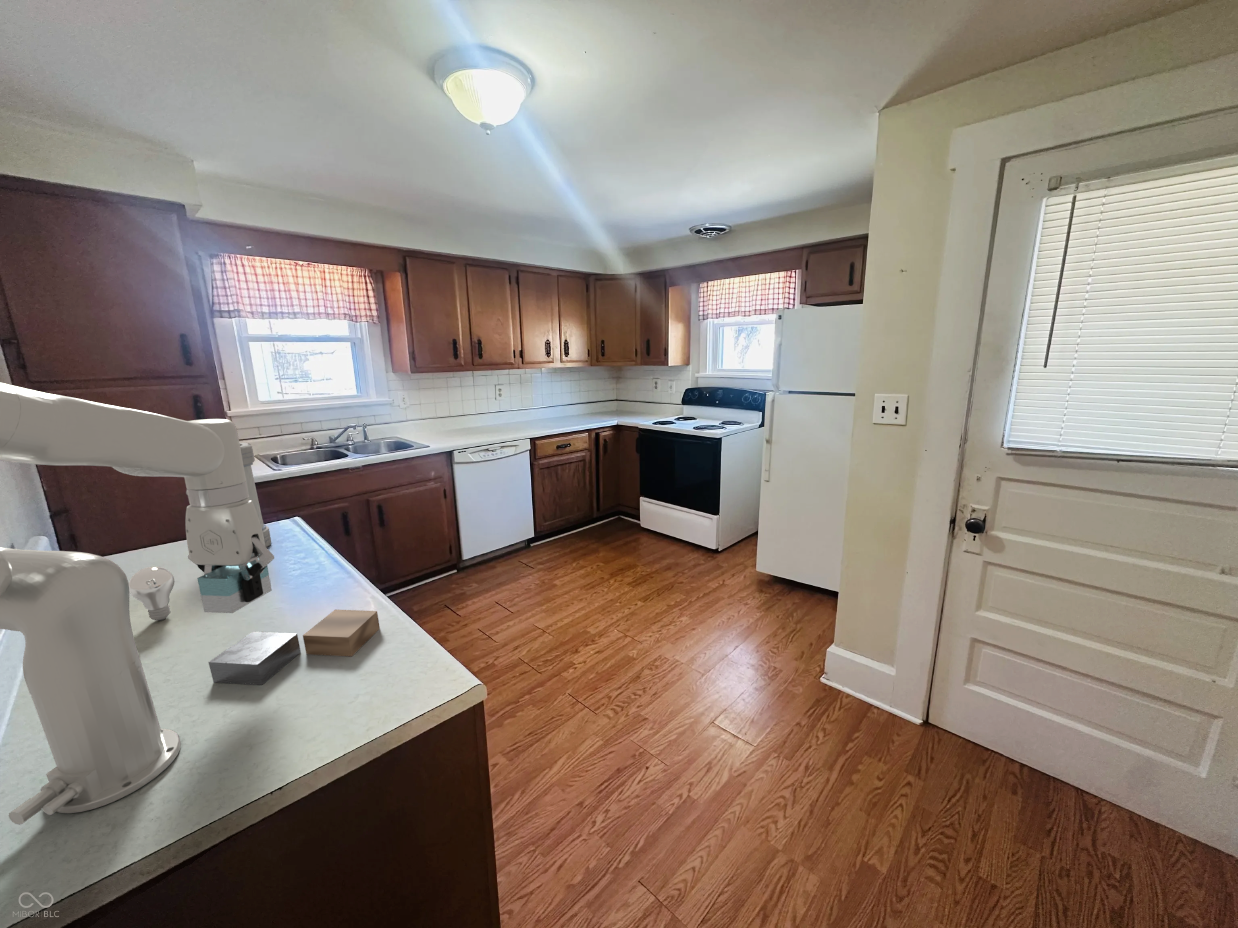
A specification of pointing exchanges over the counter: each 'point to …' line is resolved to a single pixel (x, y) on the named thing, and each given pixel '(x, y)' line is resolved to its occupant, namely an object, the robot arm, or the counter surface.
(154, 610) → the light bulb
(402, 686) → the counter surface
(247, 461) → the canister
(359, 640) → the stand
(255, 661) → the stand
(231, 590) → the teal and grey block
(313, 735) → the counter surface
